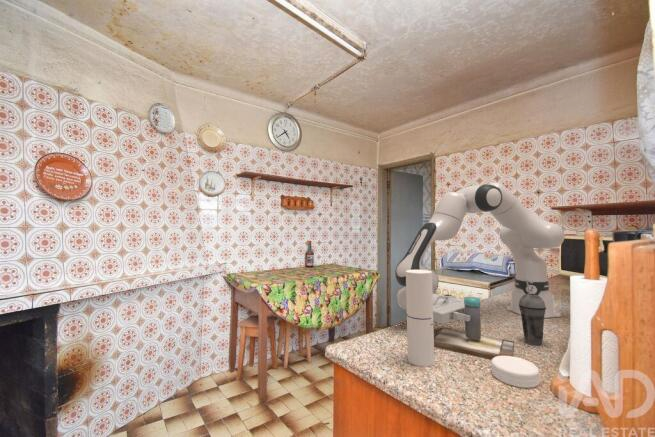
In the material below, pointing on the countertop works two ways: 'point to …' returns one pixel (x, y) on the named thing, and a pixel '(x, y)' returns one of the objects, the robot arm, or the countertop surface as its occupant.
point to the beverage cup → (532, 317)
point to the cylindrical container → (420, 317)
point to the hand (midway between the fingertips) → (475, 316)
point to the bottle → (473, 318)
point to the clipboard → (473, 344)
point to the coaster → (515, 371)
